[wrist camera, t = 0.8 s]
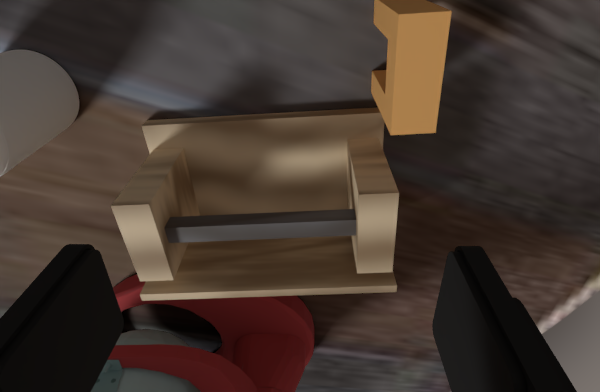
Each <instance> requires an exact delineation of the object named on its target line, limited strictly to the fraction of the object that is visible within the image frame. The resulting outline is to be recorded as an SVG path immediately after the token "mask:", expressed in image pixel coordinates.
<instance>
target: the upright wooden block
mask: <svg viewBox="0 0 600 392" xmlns="http://www.w3.org/2000/svg"><path fill="white" fill-rule="evenodd" d="M451 12H452V11H450V10H448V9H446V8H443V7H441V6H439V5H436V4H434V3H432V2H429V1H427V0H374V24H375V25H376V26H377V28H378V29H379V30H380V31H381V32H382V33H383V34H384V35H385V36H386V38H387V39H388V51H387V70H375V71H372V85H371V93H372V95H373V97H374V100H375V102H376V104H377V106H378V108H379V111H380V113H381V115H382V117H383V119H384V122H385V124H386V126H387V128H388V130H389V133H390V135H406V134H425V133H436V126H437V118H438V111H439V103H440V96H441V88H442V80H443V73H444V65H445V58H446V50H447V43H448V35H449V28H450V20H451Z"/></svg>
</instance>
